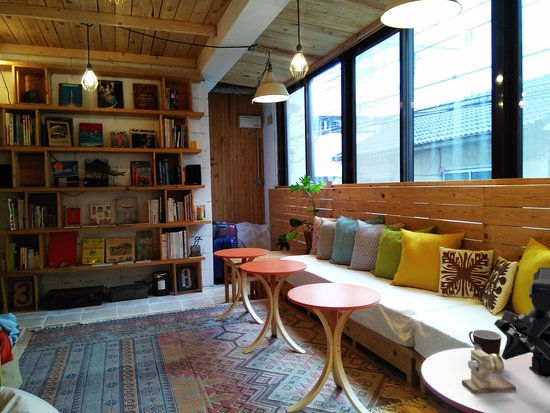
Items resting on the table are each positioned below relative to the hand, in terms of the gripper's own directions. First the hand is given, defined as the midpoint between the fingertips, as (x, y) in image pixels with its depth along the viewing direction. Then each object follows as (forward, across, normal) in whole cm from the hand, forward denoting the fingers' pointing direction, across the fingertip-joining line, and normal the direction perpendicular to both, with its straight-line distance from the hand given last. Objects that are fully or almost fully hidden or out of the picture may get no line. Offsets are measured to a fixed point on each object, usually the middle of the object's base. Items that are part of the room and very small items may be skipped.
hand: (503, 358), depth 114 cm
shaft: (+7, 0, -2) cm, 7 cm away
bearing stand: (+9, 0, +2) cm, 10 cm away
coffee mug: (+3, -16, +9) cm, 19 cm away
